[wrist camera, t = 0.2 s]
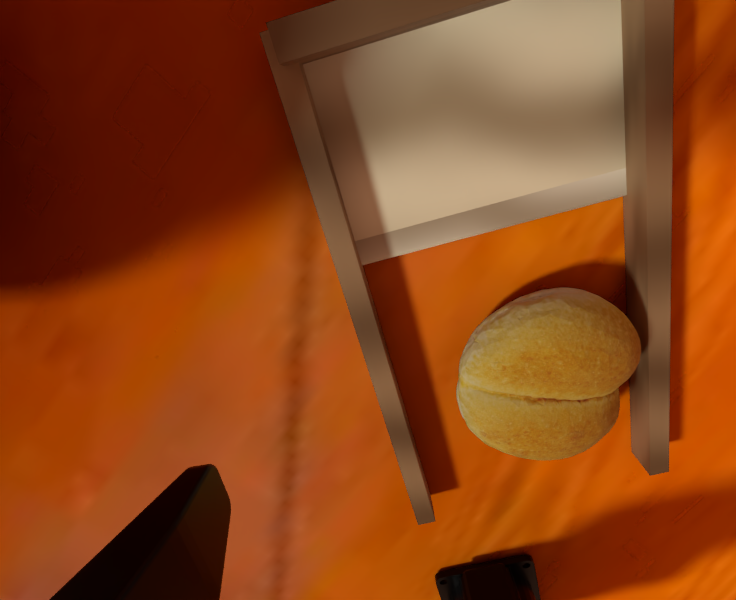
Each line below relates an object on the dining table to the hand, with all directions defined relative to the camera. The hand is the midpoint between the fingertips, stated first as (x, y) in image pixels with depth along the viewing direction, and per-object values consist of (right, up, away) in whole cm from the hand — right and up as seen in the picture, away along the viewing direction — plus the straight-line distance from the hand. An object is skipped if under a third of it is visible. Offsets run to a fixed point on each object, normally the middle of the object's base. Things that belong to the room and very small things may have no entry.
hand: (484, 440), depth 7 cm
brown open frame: (+4, +3, +14) cm, 15 cm away
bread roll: (+5, +2, +15) cm, 16 cm away
